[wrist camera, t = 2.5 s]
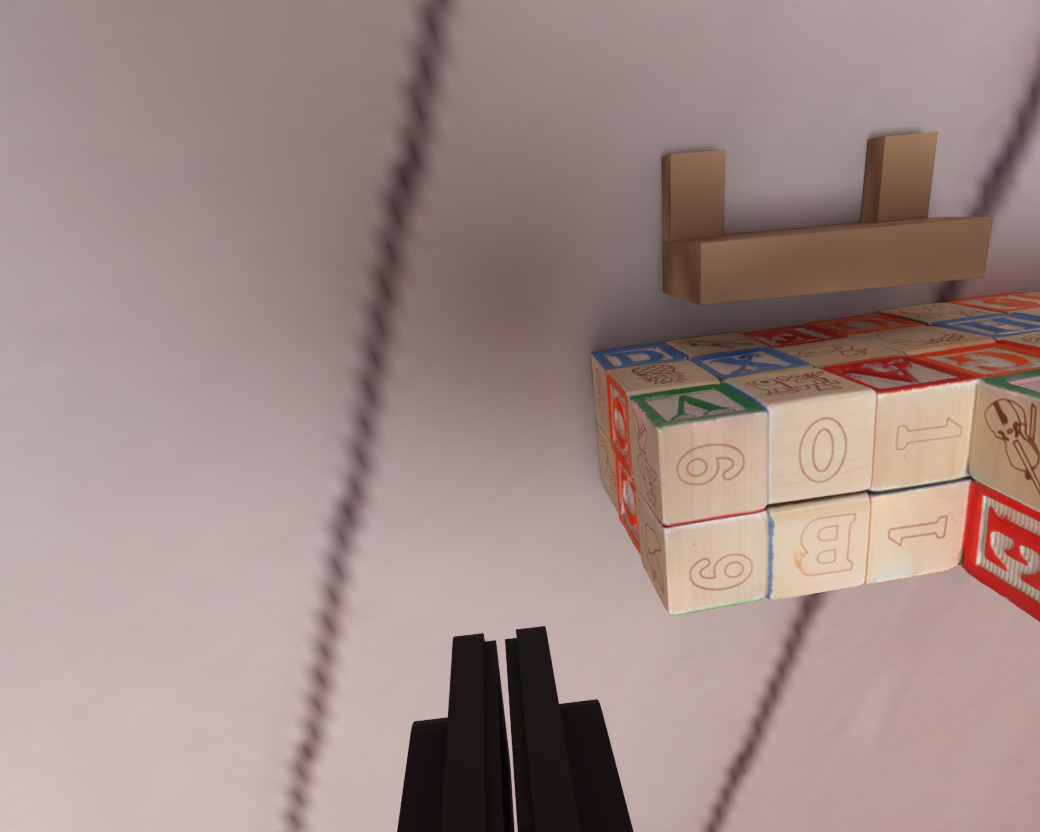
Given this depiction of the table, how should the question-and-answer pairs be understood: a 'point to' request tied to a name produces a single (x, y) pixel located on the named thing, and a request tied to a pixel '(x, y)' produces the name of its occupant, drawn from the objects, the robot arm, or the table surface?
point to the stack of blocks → (830, 453)
